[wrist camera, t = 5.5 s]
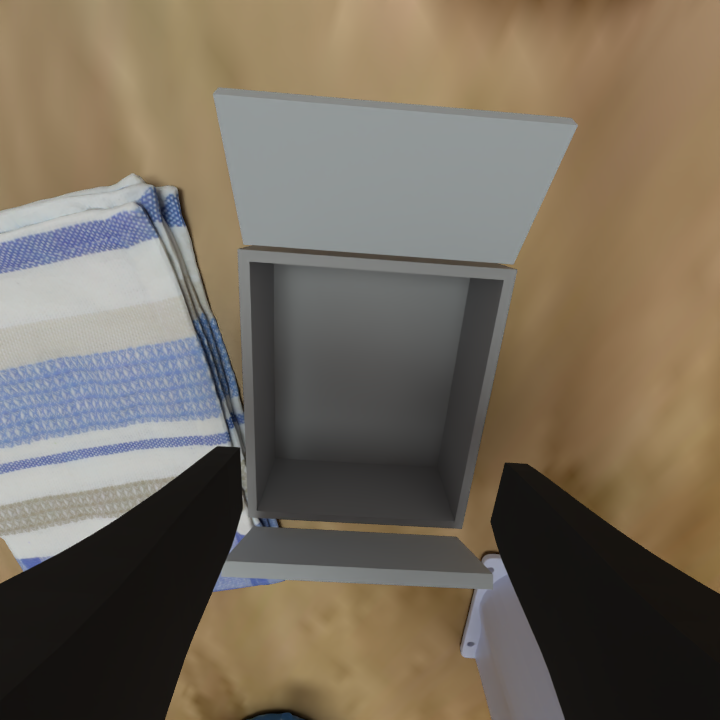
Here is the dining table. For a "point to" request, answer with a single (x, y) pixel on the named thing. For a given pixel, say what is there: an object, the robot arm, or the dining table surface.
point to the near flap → (387, 174)
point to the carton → (366, 382)
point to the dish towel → (105, 366)
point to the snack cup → (276, 717)
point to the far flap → (356, 558)
